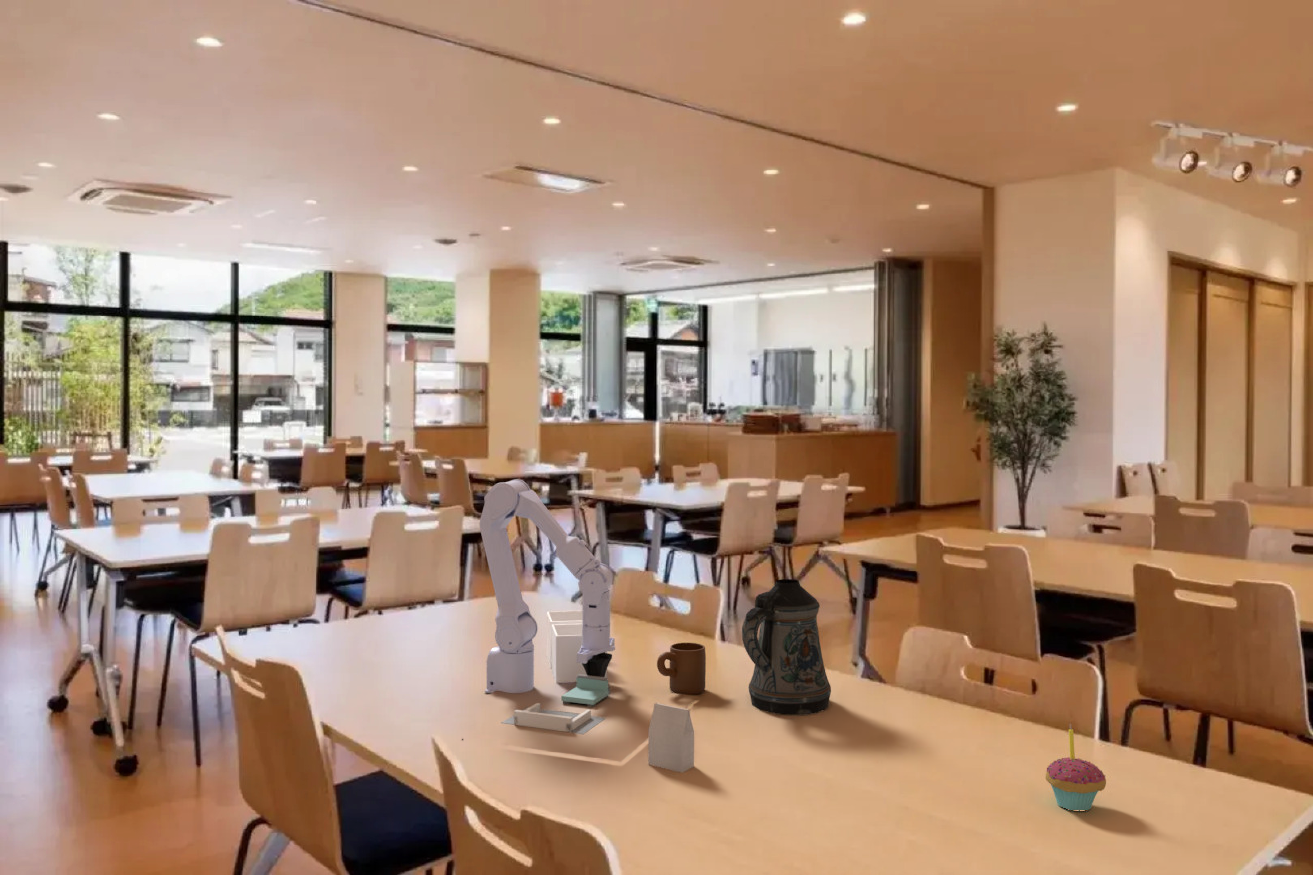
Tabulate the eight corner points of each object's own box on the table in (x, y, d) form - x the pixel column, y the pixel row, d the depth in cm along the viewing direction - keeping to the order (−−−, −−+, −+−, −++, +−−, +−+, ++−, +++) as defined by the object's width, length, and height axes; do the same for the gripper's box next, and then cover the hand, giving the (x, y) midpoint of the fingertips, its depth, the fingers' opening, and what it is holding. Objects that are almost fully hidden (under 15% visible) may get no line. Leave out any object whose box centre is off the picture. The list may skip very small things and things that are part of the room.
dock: (501, 726, 191) (501, 709, 191) (526, 711, 201) (526, 695, 200) (583, 737, 185) (583, 720, 185) (605, 721, 194) (606, 704, 194)
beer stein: (839, 697, 211) (841, 577, 210) (813, 725, 193) (815, 593, 192) (763, 687, 218) (764, 571, 217) (731, 713, 200) (732, 586, 199)
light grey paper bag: (682, 773, 168) (682, 713, 168) (648, 764, 172) (648, 706, 172) (693, 766, 171) (694, 707, 171) (660, 758, 175) (660, 700, 175)
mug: (669, 702, 207) (670, 656, 207) (645, 693, 213) (646, 649, 212) (712, 691, 215) (713, 647, 214) (688, 683, 220) (689, 640, 220)
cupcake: (1035, 795, 159) (1036, 720, 159) (1087, 794, 160) (1089, 718, 160) (1061, 818, 151) (1063, 738, 150) (1116, 817, 152) (1118, 737, 151)
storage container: (546, 657, 243) (546, 611, 242) (592, 655, 245) (592, 610, 244) (556, 687, 218) (556, 636, 218) (607, 684, 220) (607, 634, 220)
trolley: (561, 706, 203) (561, 683, 203) (578, 695, 211) (578, 672, 211) (593, 710, 201) (593, 686, 201) (609, 699, 208) (609, 676, 208)
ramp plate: (545, 710, 199) (545, 709, 199) (556, 706, 204) (557, 705, 204) (587, 715, 196) (587, 715, 196) (598, 711, 201) (598, 710, 201)
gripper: (599, 633, 202) (599, 701, 202) (627, 618, 215) (627, 682, 216) (567, 630, 204) (567, 697, 205) (597, 616, 218) (597, 679, 218)
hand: (596, 689), depth 210 cm, fingers closed
